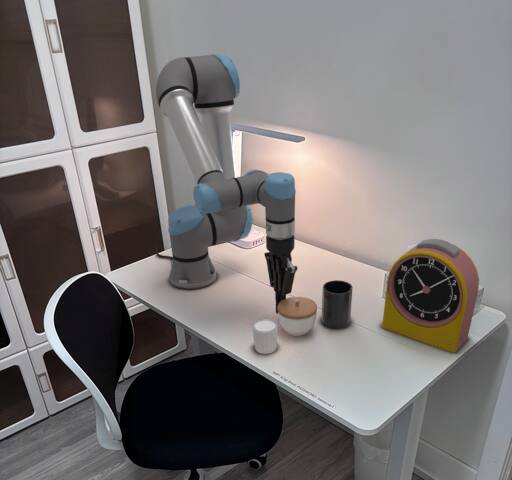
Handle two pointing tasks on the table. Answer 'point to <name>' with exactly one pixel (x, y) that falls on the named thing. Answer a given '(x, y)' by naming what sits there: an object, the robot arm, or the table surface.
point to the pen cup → (336, 304)
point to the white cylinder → (265, 335)
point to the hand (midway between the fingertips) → (280, 312)
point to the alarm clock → (432, 294)
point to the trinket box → (297, 315)
